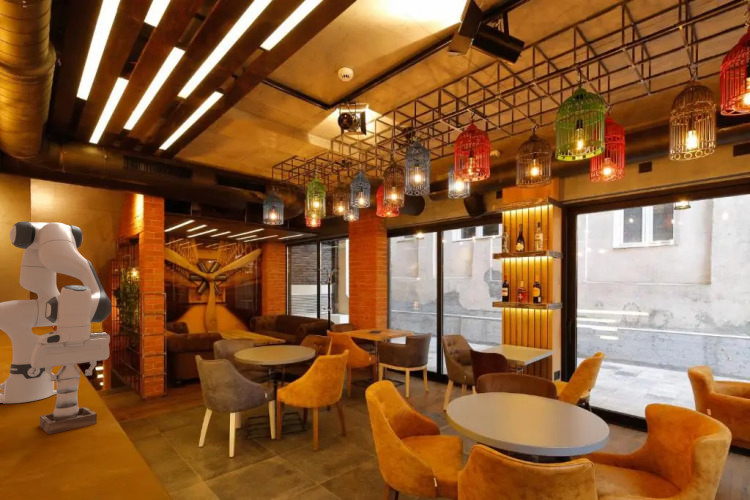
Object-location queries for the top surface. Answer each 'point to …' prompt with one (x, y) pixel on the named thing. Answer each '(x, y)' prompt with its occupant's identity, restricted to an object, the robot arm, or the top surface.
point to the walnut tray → (68, 421)
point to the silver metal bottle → (67, 393)
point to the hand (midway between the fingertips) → (71, 378)
